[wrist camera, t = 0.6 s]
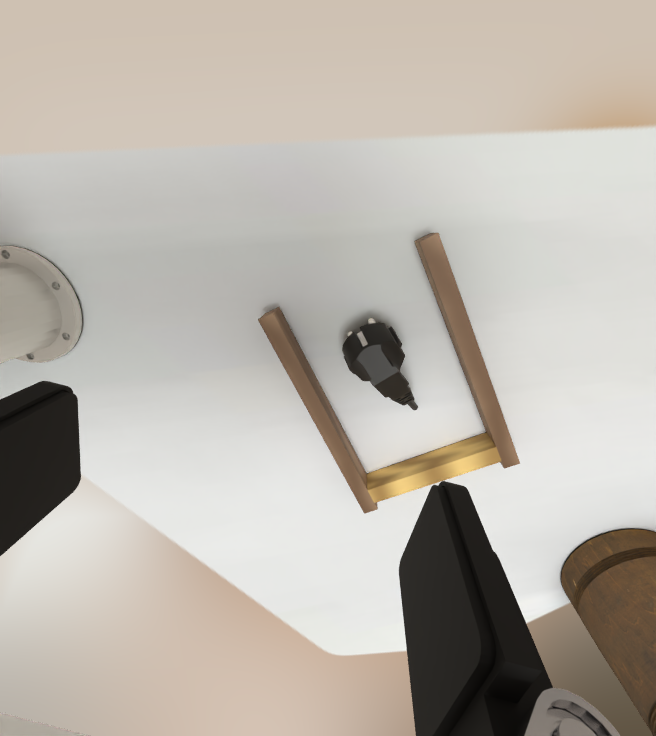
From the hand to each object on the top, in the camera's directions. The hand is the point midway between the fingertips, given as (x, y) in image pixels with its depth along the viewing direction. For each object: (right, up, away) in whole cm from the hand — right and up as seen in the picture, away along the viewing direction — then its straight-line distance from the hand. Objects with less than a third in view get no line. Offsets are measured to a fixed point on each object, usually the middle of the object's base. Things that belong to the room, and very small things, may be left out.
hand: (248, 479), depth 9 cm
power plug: (+9, +3, +30) cm, 31 cm away
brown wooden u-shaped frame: (+9, +1, +30) cm, 31 cm away
